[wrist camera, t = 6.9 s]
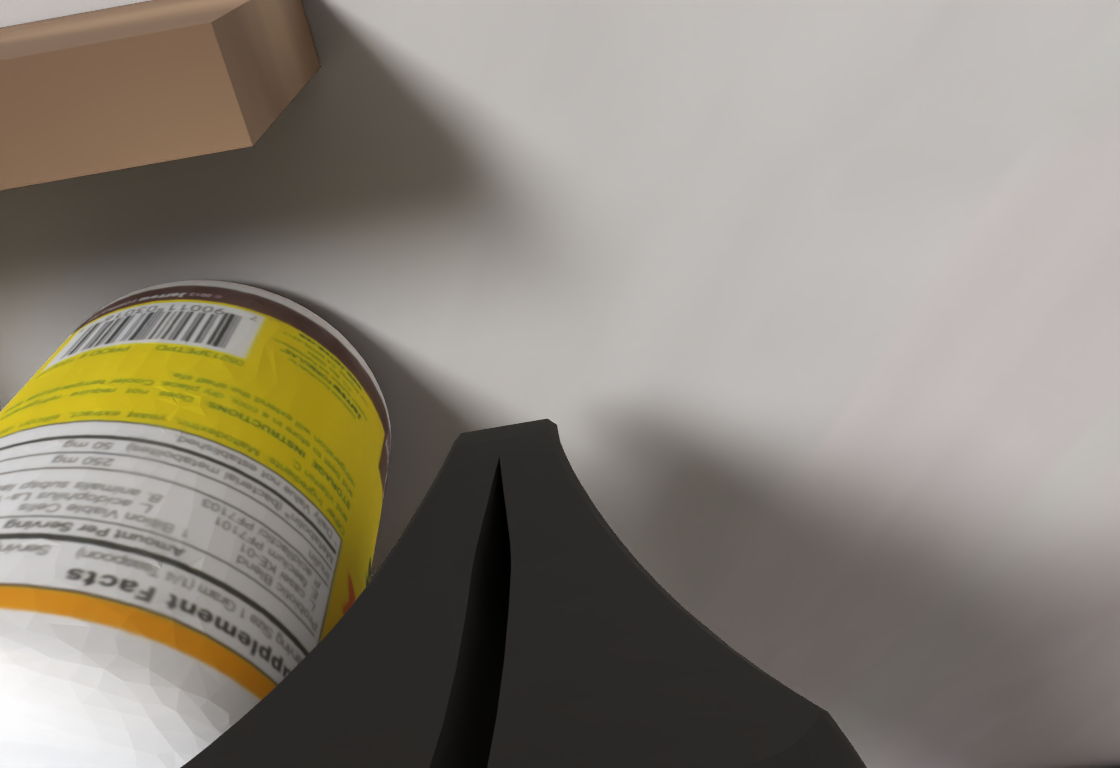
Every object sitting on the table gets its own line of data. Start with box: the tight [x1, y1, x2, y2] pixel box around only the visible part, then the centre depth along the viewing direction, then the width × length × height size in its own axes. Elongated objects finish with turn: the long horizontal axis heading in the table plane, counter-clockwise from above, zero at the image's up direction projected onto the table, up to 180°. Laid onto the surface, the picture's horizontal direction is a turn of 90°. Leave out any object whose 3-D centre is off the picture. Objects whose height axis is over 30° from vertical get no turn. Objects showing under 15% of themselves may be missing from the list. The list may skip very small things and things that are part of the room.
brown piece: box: [0, 0, 321, 190], centre depth 14 cm, size 13×10×4 cm
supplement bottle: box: [0, 280, 391, 768], centre depth 11 cm, size 6×6×10 cm
